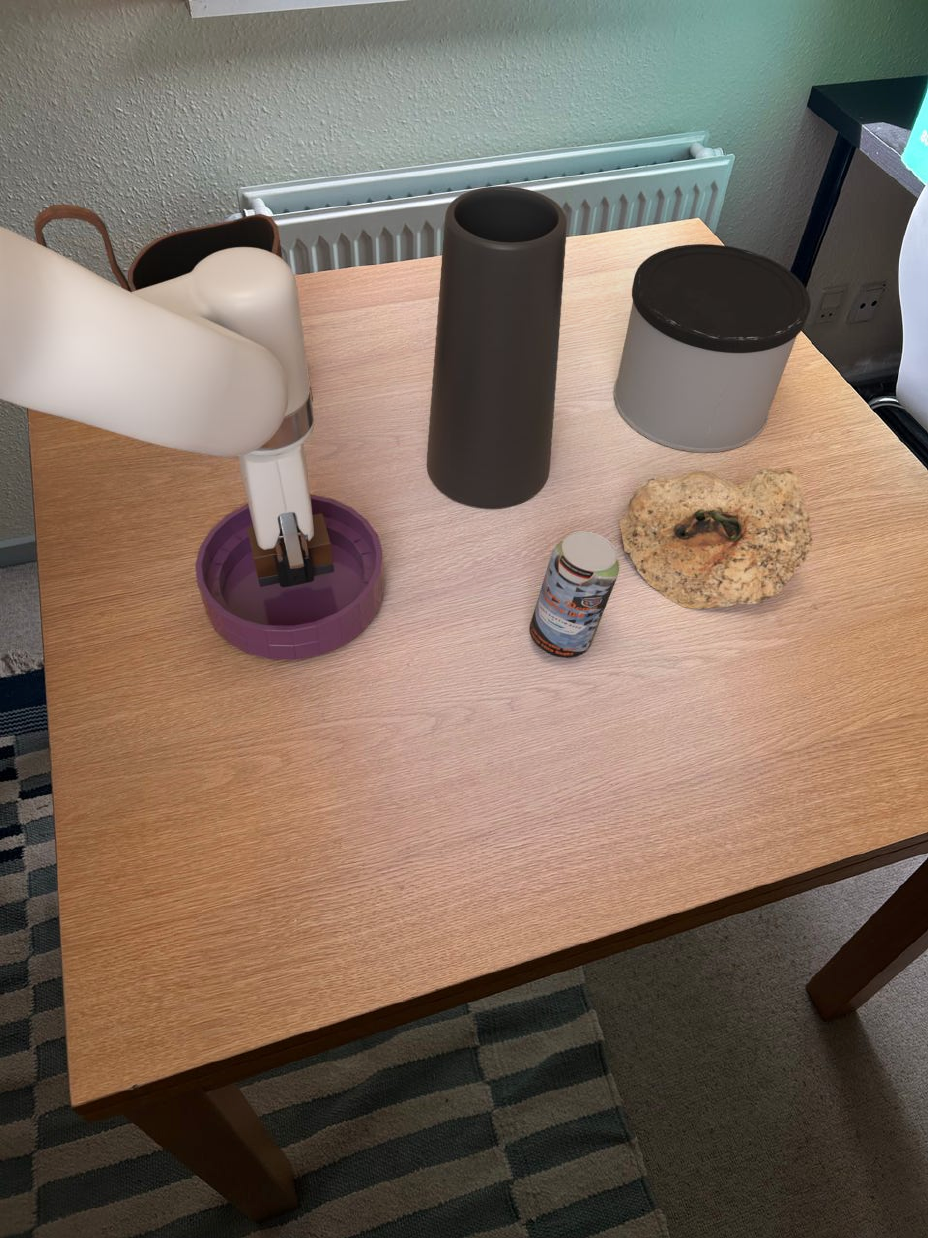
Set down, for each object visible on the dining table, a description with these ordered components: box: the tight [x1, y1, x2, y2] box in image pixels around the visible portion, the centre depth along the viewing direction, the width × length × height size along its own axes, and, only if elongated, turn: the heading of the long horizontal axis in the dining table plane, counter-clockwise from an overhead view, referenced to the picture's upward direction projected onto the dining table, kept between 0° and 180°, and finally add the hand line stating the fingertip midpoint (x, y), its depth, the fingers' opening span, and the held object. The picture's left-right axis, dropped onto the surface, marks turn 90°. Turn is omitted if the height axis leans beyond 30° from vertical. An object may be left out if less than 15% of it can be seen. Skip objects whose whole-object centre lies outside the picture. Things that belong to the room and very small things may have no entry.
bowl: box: [195, 493, 385, 661], centre depth 88 cm, size 17×17×5 cm
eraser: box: [247, 513, 334, 587], centre depth 85 cm, size 7×4×4 cm, turn 107°
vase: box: [426, 185, 568, 510], centre depth 90 cm, size 14×14×29 cm
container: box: [613, 243, 811, 453], centre depth 104 cm, size 19×19×15 cm
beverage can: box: [528, 530, 620, 659], centre depth 83 cm, size 6×7×12 cm
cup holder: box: [33, 204, 314, 403], centre depth 97 cm, size 18×24×25 cm
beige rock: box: [619, 466, 814, 610], centre depth 92 cm, size 18×14×8 cm
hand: (292, 562), depth 86 cm, fingers closed on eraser, 4 cm apart
